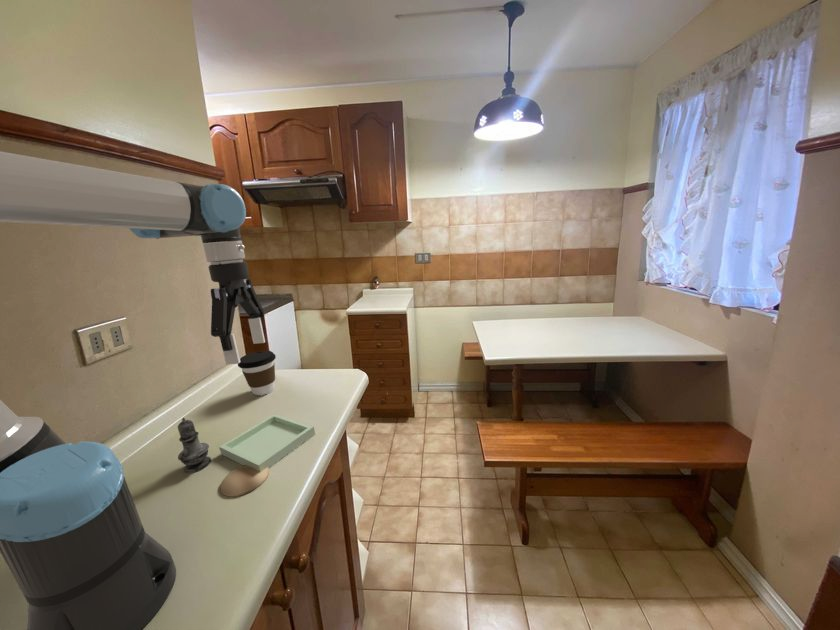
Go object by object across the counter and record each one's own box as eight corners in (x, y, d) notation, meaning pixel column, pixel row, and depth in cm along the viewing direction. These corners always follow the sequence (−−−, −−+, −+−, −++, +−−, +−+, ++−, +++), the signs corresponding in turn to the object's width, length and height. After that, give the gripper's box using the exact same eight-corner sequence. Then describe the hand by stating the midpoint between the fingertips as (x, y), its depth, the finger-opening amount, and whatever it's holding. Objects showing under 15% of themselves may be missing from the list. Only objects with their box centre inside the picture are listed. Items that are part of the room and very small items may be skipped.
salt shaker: (198, 475, 73) (182, 426, 70) (175, 473, 74) (159, 425, 71) (218, 456, 78) (205, 410, 75) (197, 455, 80) (183, 410, 77)
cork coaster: (237, 502, 64) (237, 500, 64) (211, 487, 69) (211, 485, 69) (278, 471, 72) (277, 469, 71) (252, 459, 76) (251, 458, 76)
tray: (260, 473, 72) (258, 465, 71) (221, 454, 79) (219, 446, 79) (315, 434, 84) (313, 426, 83) (276, 420, 91) (274, 413, 91)
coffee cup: (251, 386, 114) (243, 352, 111) (285, 380, 116) (278, 347, 113) (240, 402, 104) (231, 365, 100) (278, 396, 105) (270, 360, 102)
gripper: (213, 266, 63) (238, 372, 68) (266, 256, 87) (281, 334, 92) (172, 270, 63) (200, 376, 68) (237, 258, 87) (254, 337, 92)
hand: (247, 352), depth 80 cm, fingers open, 13 cm apart
